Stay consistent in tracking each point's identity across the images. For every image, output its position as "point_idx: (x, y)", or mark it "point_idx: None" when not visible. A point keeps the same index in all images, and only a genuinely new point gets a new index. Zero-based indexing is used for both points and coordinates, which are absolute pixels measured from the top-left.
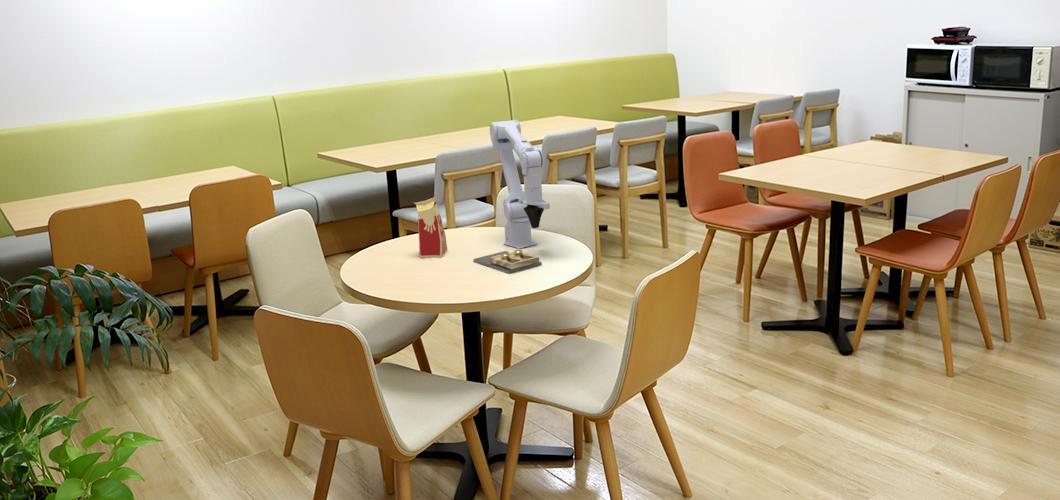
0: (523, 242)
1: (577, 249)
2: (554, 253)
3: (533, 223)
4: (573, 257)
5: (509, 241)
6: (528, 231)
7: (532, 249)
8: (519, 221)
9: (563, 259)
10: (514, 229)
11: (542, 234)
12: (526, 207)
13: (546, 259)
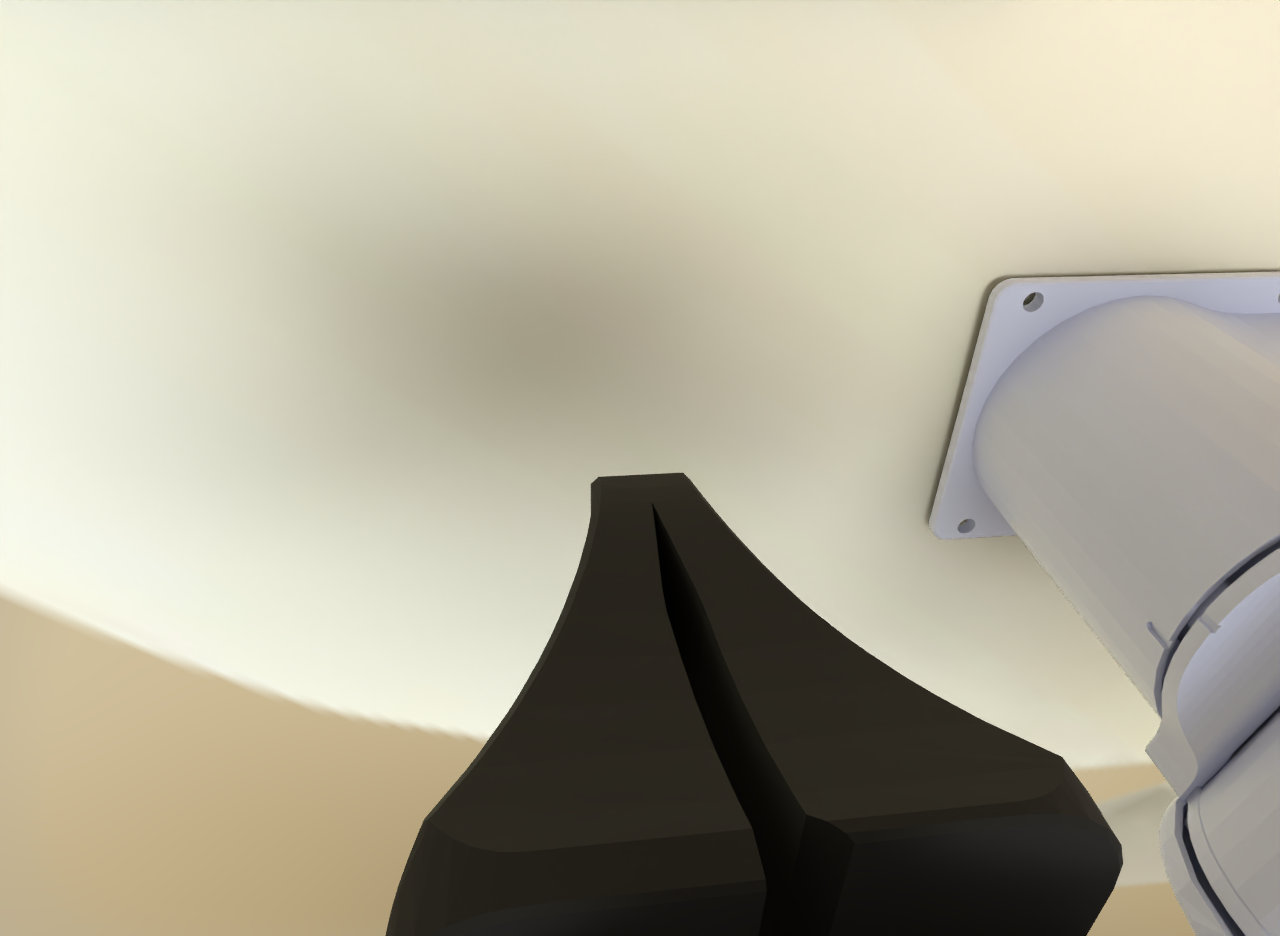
0: (1024, 399)
1: (422, 692)
2: (465, 467)
3: (588, 540)
4: (131, 520)
5: (1263, 327)
6: (1064, 560)
7: (834, 389)
8: (1275, 571)
9: (113, 392)
10: (1270, 424)
11: (1121, 723)
12: (1017, 903)
13: (267, 233)
